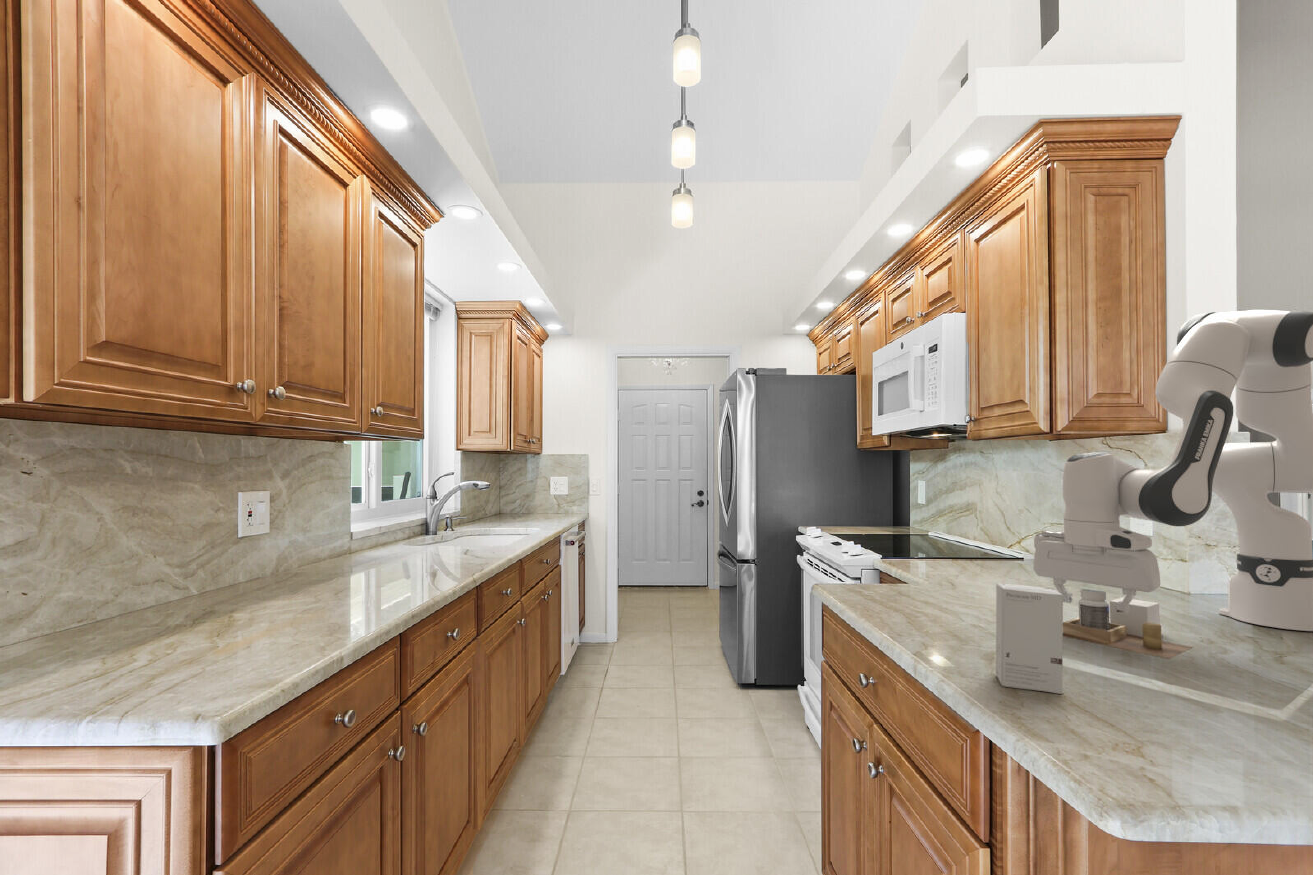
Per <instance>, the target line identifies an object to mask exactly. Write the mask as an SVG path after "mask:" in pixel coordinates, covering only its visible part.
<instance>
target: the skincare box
mask: <svg viewBox="0 0 1313 875" xmlns="http://www.w3.org/2000/svg"><path fill="white" fill-rule="evenodd" d="M995 585H996V587H995V589H996V595H995V596H996V598H995V600H996V601H995V602H996V603H995V605H996V607H995V608H996V610H995V612H996V613H995V614H996V617H995V619H996V623H995V624H996V626H995V628H996V629H995V632H996V633H995V634H996V635H995V641H996V642H995V675H996V676H997V678H998V681H999V683H1000V685H1001V686H1002V687H1005V688H1014V689H1021V690H1022V689H1023V690H1028V691H1030V690H1031V691H1038V692H1040V691H1041V692H1046V693H1053V694H1063V670H1064V669H1063V664H1064V663H1063V662H1064V661H1063V658H1064V657H1063V653H1064V652H1063V651H1064V649H1063V648H1064V647H1063V643H1064V642H1063V641H1064V639H1063V637H1064V636H1063V622H1064V613H1063V612H1064V602H1063V595H1062V594H1061V593H1059V591H1058V590H1057V589H1055V588H1052V587H1051V588H1049V587H1042V586H1034V585H1033V586H1032V585H1025V584H1013V583H1001V582H1000V583H999V582H998V583H995Z"/></svg>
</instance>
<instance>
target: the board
mask: <svg viewBox="0 0 1313 875" xmlns="http://www.w3.org/2000/svg"><path fill="white" fill-rule="evenodd" d="M1109 626H1110V630H1108V631H1106V630H1101V629H1096V628H1091V627H1086V626H1081V625H1079V617H1077V618H1074V619H1070V620H1067V621H1063V637H1065V638H1070V639H1075V640H1080V641H1083V642H1088V643H1093V644H1097V645H1100V646H1101V645H1102V646H1105V647H1110V648H1115V649H1116V648H1117V649H1120V650H1125V651H1130V652H1135V653H1139V654H1142V655H1143V654H1144V655H1147V656H1153V657H1158V658H1161V659H1166V660H1169V659H1172V658H1174V657H1176V656H1178V655H1180V654H1182V653H1185V652H1186V651H1188V650H1191V649H1192V648H1193V646H1188V645H1183V644H1179V643H1173V642H1169V641H1163V640H1162V637H1163V636H1162V634H1163V633H1162V625H1161V624H1160V625H1159V624H1156V623H1148V622H1144V623H1143V637H1140V636H1135V635H1130V634H1127V628H1126V626H1124V625H1119V624H1114V623H1110V622H1109Z"/></svg>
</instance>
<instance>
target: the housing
mask: <svg viewBox="0 0 1313 875" xmlns="http://www.w3.org/2000/svg"><path fill="white" fill-rule="evenodd" d="M1124 598H1125V597H1119V598H1115V599H1112V600H1109V623H1114V624H1119V625H1124V626H1126V628H1127V634H1130V635H1135V636H1140V637H1143V623H1144V622H1148V623H1156V624H1159V625H1161V623H1160V622H1161V619H1160V617H1161V616H1160V603H1159V602H1152V601H1146V600H1141V599H1134V598H1133V599H1132V601H1131V602H1130V603H1129V613H1122V612H1117V611H1116V608H1117V606H1116V602H1119V601H1123V600H1124Z"/></svg>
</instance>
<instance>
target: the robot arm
mask: <svg viewBox="0 0 1313 875" xmlns="http://www.w3.org/2000/svg"><path fill="white" fill-rule="evenodd" d="M1311 362H1313V312H1312V311H1307V310H1306V311H1305V310H1298V309H1294V310H1291V311H1290V310H1289V311H1288V310H1275V309H1250V310H1240V311H1239V310H1237V311H1226V312H1225V311H1224V312H1215V311H1214V312H1205V313H1204V312H1203V313H1199V314H1196V315H1193V316H1192V317H1190V318H1189V319H1188V320H1186V321H1185V322H1184V323H1183V324H1182V325H1181V327H1180V329H1179V331H1178V333H1177V337H1176V347H1175V349H1174V350H1173V352H1172V353H1171V355H1170V356H1169V358H1168V360H1167V361H1166V364H1165V366H1164V367H1163V369H1162V371H1161V373H1160V375H1159V377H1158V379H1157V381H1156V387H1155V390H1154V396H1155V398H1156V400H1157V402H1158V404H1159V405H1160V406H1161V407H1162V408H1163V409H1164V410H1165V411H1167V412H1169V413H1170V414H1172V415H1173V416H1176V417H1178V418H1179V419H1182V423H1183V426H1182V430H1181V433H1180V436H1179V439H1178V441H1177V444H1176V447H1175V448H1174V451H1173V452H1174V453H1173V455H1172V458H1171V460H1170V461H1169V463H1167V464H1166V465H1165V466H1163V467H1161V468H1159V469H1151V468H1150V469H1149V468H1148V469H1147V468H1140V467H1139V466H1135V465H1132V464H1129V463H1127V462H1125V461H1123V460H1122V459H1119V458H1118V457H1116V456H1115V455H1114V454H1113V453H1112V452H1110V451H1104V450H1103V451H1102V450H1101V451H1092V452H1090V451H1089V452H1083V453H1077V454H1074V455H1072V456H1071V457H1069V458H1067V460H1066V462H1065V463H1064V464H1065V465H1064V468H1063V475H1062V498H1063V500H1064V503H1065V511H1064V514H1063V532H1058V531H1054V532H1053V531H1049V530H1047V531H1046V530H1043V531H1041V532H1038V533H1037V534H1035V536H1034V538H1033V540H1034V541H1033V542H1034V543H1033V544H1034V546H1033V547H1034V549H1035V552H1034V559H1033V571H1034V573H1035V574H1036V575H1037V576H1038V577H1044V578H1049V579H1053V580H1052V581H1053V585H1054V587H1055V588H1056V591H1058V592H1059V593H1061V594H1062V595H1063V603H1065V604H1072V603H1073V593H1072V592H1068V590H1067V588H1066V587H1065V584H1066V583H1067V581H1069V582H1077V583H1083V584H1090V585H1096V586H1105V587H1109V588H1118V589H1122V595H1125V596H1124V597H1123V598H1124V600H1123V601H1119V602H1116V606H1117V608H1116V611H1117V612H1122V613H1129V603H1130V602H1131V601H1132V599H1134V598H1135V597H1136V595H1137V591H1138V592H1144V593H1152V592H1154V591H1157V590H1158V589H1159V588H1160V587H1161V573H1160V567H1159V564H1158V563H1159V562H1158V559H1157V556H1156V555H1155V554H1154V552H1153V551H1151V550H1150V548H1151V547H1152V545H1153V541H1152V538H1151V537H1150V536H1147V535H1146V534H1142V533H1139V532H1136V531H1132V530H1130V529H1128V528H1127V529H1126V528H1125V527H1121V525H1120V522H1121V521H1120V517H1121V516H1123V517H1126V518H1127V517H1128V518H1133V519H1138V520H1144V521H1152V522H1156V523H1159V524H1162V525H1168V526H1171V527H1186V526H1190V525H1193V524H1194V523H1197V522H1199V521H1200V520H1201V519H1202V518H1203V517H1204V516H1205V515H1206V514H1207V513H1208V511H1209V509H1210V507H1211V503H1212V498H1213V497H1212V496H1213V493H1214V494H1215V495H1216V496H1218V497H1219V498H1220V499H1221V500H1222V501H1223V502H1224V503H1225V505H1226V506H1227V507H1228V508H1229V510H1230V511H1231V513H1232V515H1233V518H1234V519H1235V525H1236V529H1237V536H1238V550H1239V553H1237V554H1236V560H1235V562H1236V569H1237V570H1238V572H1237V573H1236V574H1235V575H1233V576H1231V577H1229V578H1228V591H1227V592H1228V595H1227V607H1223V608H1219V610H1218V614H1219V615H1222V616H1228V617H1230V618H1233V619H1235V620H1238V621H1241V622H1244V623H1249V624H1254V625H1258V626H1262V627H1263V626H1264V627H1271V628H1277V629H1283V630H1284V629H1285V630H1291V631H1292V630H1293V631H1302V632H1303V631H1305V632H1313V542H1312V527H1311V524H1310V523H1309V521H1308V520H1307V519H1306V518H1305V517H1304V516H1301V515H1300V514H1298V513H1296V512H1293V511H1291V510H1289V509H1286V508H1283V507H1280V506H1278V505H1274V504H1273V503H1272V502H1270V500H1269V498H1268V494H1271V493H1278V494H1279V493H1282V494H1283V493H1288V494H1313V405H1312V404H1313V403H1312V365H1311ZM1234 388H1235V416H1236V418H1237V419H1238V421H1239V422H1240V423H1241V424H1243V425H1244V426H1246V427H1248V428H1249V429H1252V430H1253V431H1258V432H1260V433H1264V434H1267V435H1269V436H1271V437H1273V438H1275V439H1276V440H1274V441H1268V442H1267V441H1265V442H1264V441H1263V442H1262V441H1261V442H1260V441H1257V442H1255V441H1254V442H1252V441H1251V442H1227V438H1228V435H1229V432H1230V429H1231V425H1232V421H1233V418H1234V405H1233V402H1232V400H1231V397H1232V394H1233V391H1234Z"/></svg>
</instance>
